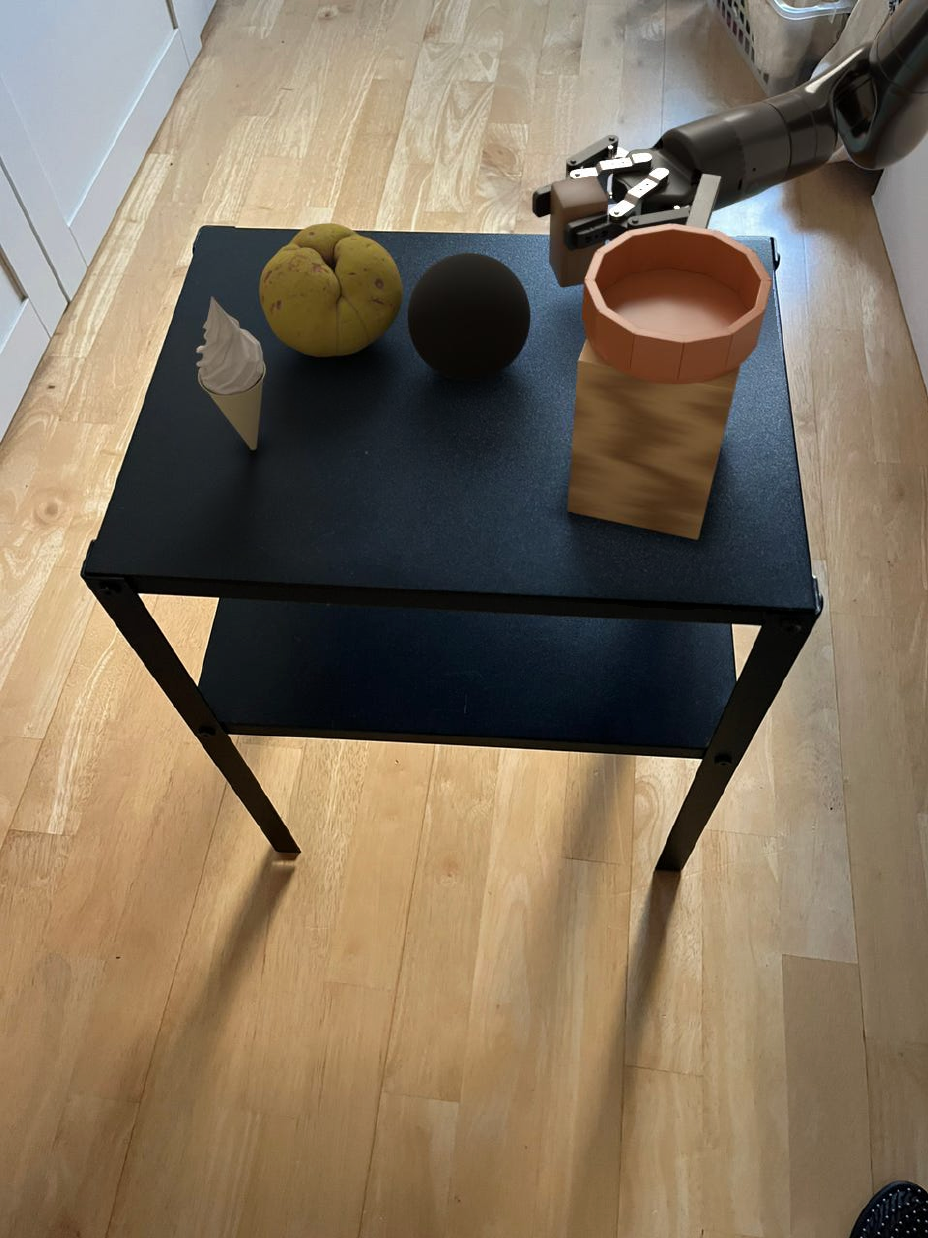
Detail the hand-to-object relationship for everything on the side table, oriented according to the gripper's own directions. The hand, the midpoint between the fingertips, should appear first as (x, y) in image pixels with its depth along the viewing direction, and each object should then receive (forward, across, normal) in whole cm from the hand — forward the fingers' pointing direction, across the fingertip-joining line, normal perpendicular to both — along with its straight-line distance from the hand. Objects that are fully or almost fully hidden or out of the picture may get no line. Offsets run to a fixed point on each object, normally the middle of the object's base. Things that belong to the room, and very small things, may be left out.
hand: (550, 221), depth 86 cm
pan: (+1, +19, -6) cm, 20 cm away
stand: (+4, +22, +9) cm, 24 cm away
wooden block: (-3, 0, +6) cm, 7 cm away
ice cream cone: (+30, +4, +8) cm, 31 cm away
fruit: (+18, -5, +8) cm, 21 cm away
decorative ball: (+10, +4, +8) cm, 13 cm away
